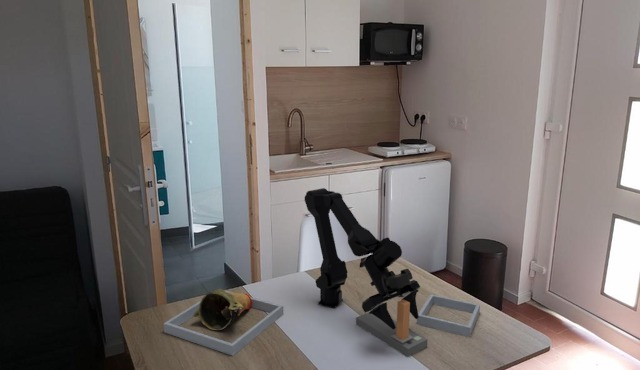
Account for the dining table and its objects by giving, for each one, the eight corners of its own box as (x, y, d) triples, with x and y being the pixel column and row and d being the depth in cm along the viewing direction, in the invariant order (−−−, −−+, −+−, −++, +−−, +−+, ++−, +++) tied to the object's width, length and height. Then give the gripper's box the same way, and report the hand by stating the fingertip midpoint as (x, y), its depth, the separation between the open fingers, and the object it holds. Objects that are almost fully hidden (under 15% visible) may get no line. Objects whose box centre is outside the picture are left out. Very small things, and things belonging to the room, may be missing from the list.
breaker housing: (356, 324, 146) (356, 316, 145) (374, 316, 151) (375, 309, 150) (407, 357, 129) (408, 348, 129) (427, 346, 134) (427, 338, 133)
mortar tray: (164, 332, 142) (163, 323, 141) (220, 296, 164) (219, 289, 164) (232, 355, 130) (232, 346, 129) (283, 314, 152) (283, 305, 152)
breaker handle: (391, 336, 134) (392, 301, 131) (402, 331, 137) (403, 297, 134) (402, 343, 131) (404, 307, 128) (413, 338, 133) (415, 302, 131)
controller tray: (416, 323, 146) (417, 315, 145) (430, 302, 160) (431, 294, 159) (469, 337, 139) (470, 327, 138) (479, 313, 152) (480, 304, 152)
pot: (266, 280, 155) (232, 286, 137) (272, 318, 153) (238, 328, 135) (221, 289, 162) (183, 295, 144) (225, 325, 160) (188, 336, 142)
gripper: (369, 269, 126) (398, 324, 120) (416, 253, 137) (445, 302, 131) (350, 286, 134) (376, 338, 128) (396, 270, 145) (422, 317, 139)
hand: (406, 323), depth 131 cm, fingers open, 9 cm apart
